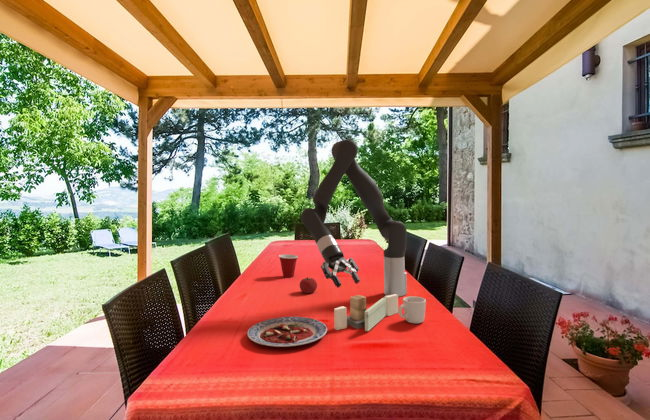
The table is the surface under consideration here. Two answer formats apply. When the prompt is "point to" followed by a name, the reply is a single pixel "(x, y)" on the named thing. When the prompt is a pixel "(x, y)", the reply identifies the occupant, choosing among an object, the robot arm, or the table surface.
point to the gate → (375, 314)
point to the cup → (413, 309)
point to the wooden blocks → (341, 312)
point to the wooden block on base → (357, 312)
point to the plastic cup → (288, 264)
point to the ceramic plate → (287, 331)
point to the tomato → (308, 285)
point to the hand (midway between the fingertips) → (349, 284)
